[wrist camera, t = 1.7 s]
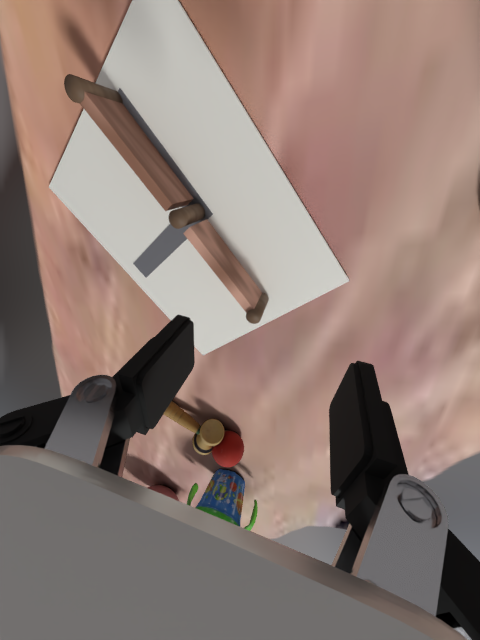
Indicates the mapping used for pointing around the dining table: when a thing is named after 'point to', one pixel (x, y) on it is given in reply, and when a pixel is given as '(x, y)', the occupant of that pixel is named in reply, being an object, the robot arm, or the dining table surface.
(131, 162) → the base
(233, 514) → the snack cup
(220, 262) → the swing panel
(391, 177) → the dining table surface
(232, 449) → the kendama
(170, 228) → the card
